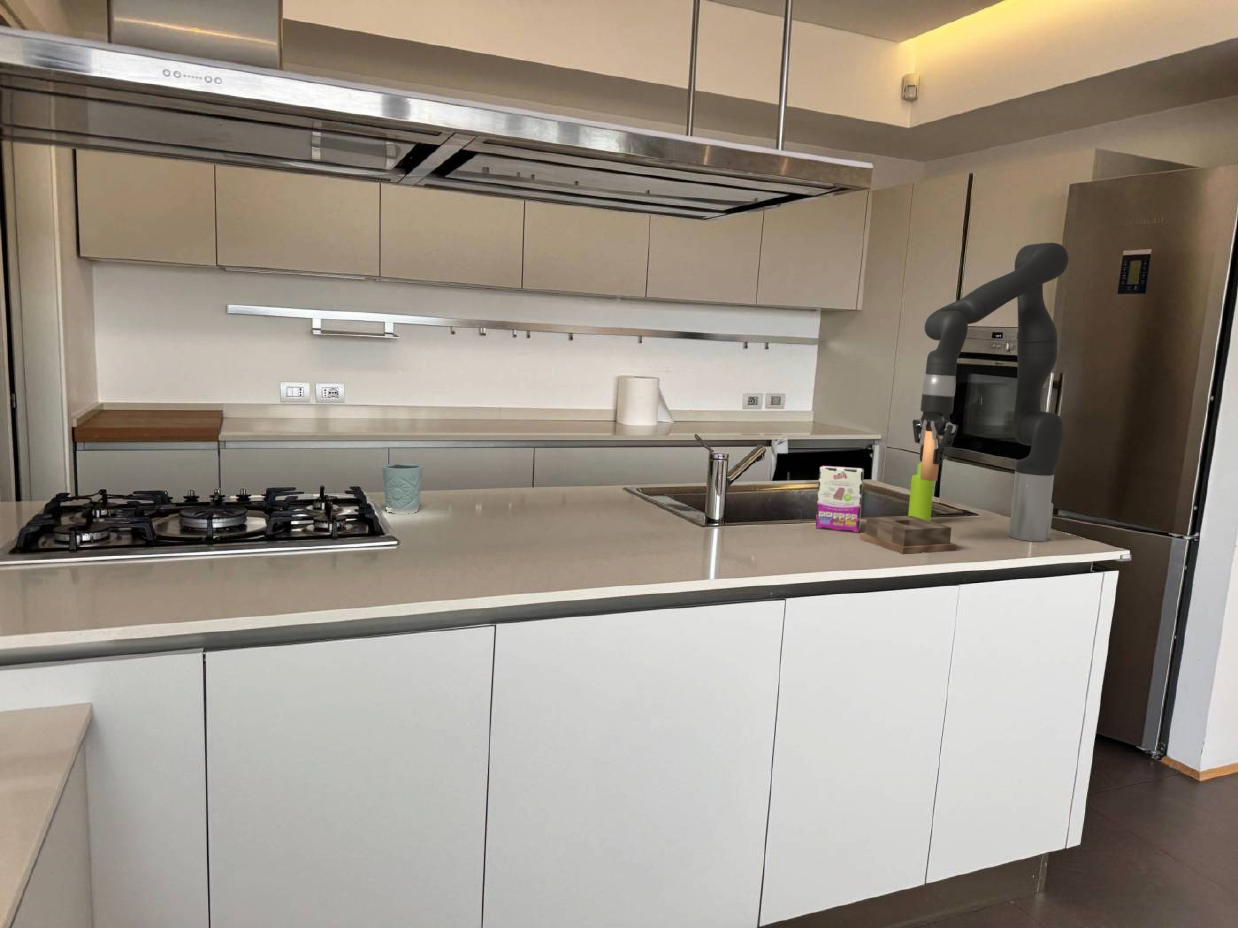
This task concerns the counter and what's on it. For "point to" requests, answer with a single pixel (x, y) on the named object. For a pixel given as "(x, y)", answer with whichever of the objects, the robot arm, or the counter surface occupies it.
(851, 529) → the candy bar box
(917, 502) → the soap dispenser
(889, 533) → the socket block
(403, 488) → the teal embossed pot
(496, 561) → the counter surface
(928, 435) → the wooden pin
